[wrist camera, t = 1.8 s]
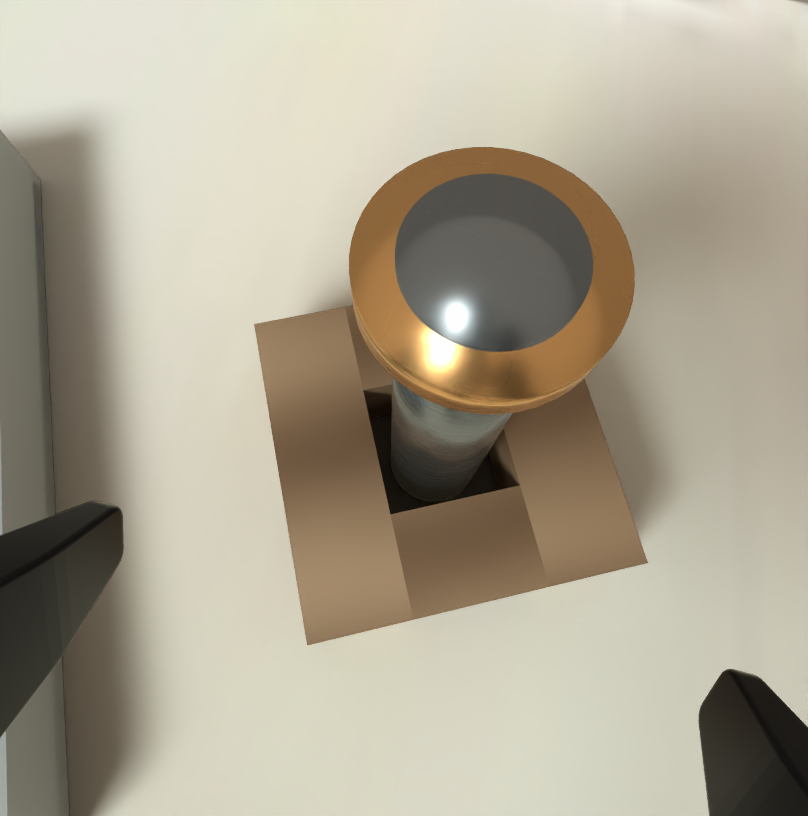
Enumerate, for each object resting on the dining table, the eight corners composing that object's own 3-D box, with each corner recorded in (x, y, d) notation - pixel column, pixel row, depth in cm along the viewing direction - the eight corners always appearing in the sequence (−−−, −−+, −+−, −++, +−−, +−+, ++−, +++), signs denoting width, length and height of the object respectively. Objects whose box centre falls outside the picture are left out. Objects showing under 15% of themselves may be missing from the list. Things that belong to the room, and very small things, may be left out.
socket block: (611, 569, 20) (647, 562, 17) (318, 640, 19) (307, 645, 17) (527, 310, 23) (546, 268, 21) (271, 360, 22) (254, 324, 20)
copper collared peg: (509, 506, 21) (682, 358, 9) (385, 534, 20) (382, 421, 8) (476, 390, 22) (586, 118, 10) (359, 415, 22) (323, 162, 10)
